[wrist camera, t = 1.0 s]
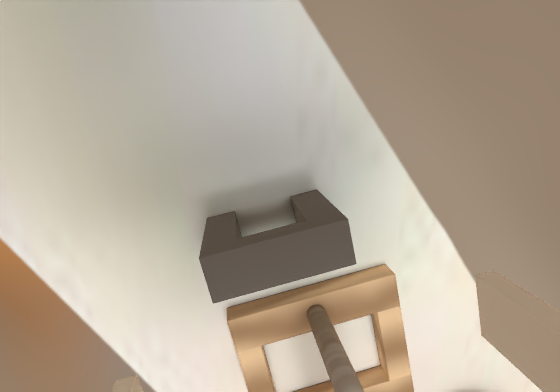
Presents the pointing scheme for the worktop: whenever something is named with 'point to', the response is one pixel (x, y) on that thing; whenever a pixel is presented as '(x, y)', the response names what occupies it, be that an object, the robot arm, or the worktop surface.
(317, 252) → the grey notched block
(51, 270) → the worktop surface
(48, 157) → the worktop surface
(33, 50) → the worktop surface
